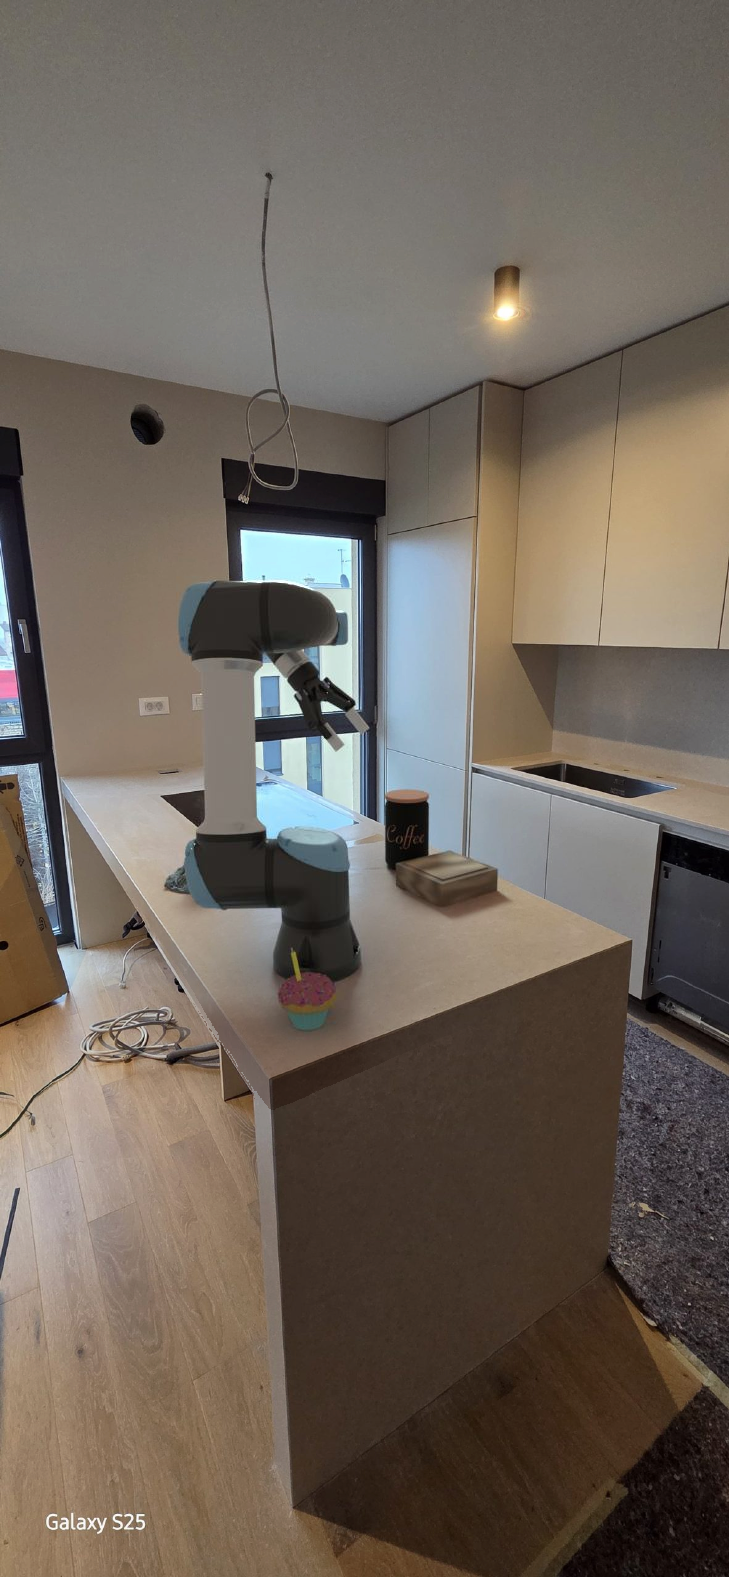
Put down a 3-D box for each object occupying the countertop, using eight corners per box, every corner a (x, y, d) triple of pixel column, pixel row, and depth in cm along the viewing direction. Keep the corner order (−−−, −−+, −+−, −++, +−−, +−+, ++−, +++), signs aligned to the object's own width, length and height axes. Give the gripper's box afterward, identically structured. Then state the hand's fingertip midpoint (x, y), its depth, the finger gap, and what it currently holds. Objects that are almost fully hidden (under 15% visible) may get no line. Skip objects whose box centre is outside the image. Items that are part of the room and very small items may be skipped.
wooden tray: (497, 890, 145) (497, 867, 144) (441, 906, 137) (441, 882, 136) (449, 870, 158) (449, 849, 157) (395, 884, 150) (395, 862, 149)
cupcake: (283, 1042, 91) (280, 963, 89) (275, 1010, 99) (271, 937, 97) (343, 1032, 94) (341, 954, 91) (330, 1001, 102) (328, 929, 99)
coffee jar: (380, 870, 159) (379, 798, 155) (391, 856, 169) (391, 788, 165) (423, 874, 156) (424, 800, 152) (432, 859, 166) (433, 790, 162)
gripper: (314, 668, 170) (365, 733, 170) (259, 691, 149) (318, 764, 149) (332, 650, 165) (384, 716, 166) (279, 671, 145) (339, 747, 145)
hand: (353, 739), depth 158 cm, fingers open, 13 cm apart
